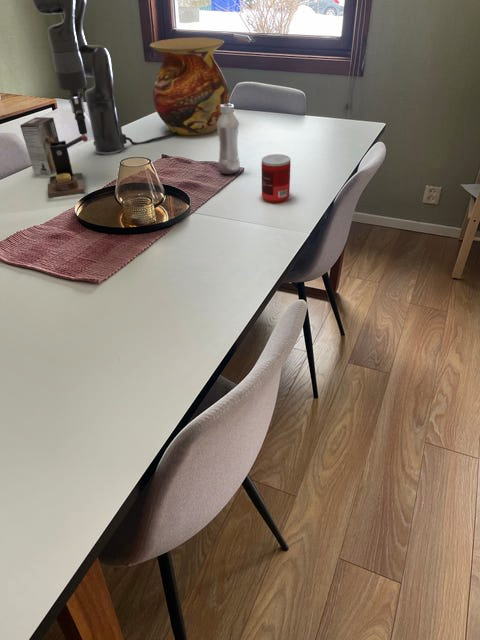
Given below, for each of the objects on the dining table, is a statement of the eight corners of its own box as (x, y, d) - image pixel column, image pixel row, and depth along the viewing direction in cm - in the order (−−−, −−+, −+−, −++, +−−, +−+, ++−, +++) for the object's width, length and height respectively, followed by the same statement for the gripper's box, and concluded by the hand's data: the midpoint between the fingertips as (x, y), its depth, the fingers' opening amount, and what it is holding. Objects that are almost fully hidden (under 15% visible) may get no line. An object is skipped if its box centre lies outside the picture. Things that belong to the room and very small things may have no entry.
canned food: (292, 193, 141) (293, 155, 135) (285, 205, 135) (286, 164, 129) (266, 191, 143) (266, 152, 137) (258, 202, 137) (257, 162, 131)
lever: (88, 136, 150) (84, 129, 149) (89, 141, 146) (85, 134, 145) (57, 153, 150) (52, 146, 149) (57, 158, 146) (52, 151, 145)
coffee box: (48, 167, 165) (35, 116, 156) (66, 168, 164) (54, 117, 155) (34, 177, 158) (19, 124, 149) (52, 178, 157) (38, 125, 148)
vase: (189, 115, 214) (183, 35, 196) (244, 124, 200) (242, 39, 182) (142, 132, 195) (129, 45, 177) (198, 144, 181) (191, 51, 163)
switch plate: (84, 186, 151) (81, 173, 148) (85, 196, 144) (82, 182, 142) (49, 190, 148) (46, 177, 146) (49, 200, 142) (45, 187, 140)
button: (71, 178, 146) (70, 172, 145) (71, 183, 143) (70, 177, 142) (57, 180, 145) (55, 174, 144) (57, 184, 142) (55, 178, 141)
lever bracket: (82, 176, 158) (74, 138, 151) (83, 185, 151) (74, 145, 144) (51, 180, 156) (41, 141, 149) (50, 189, 149) (40, 149, 142)
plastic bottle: (218, 169, 159) (214, 103, 147) (239, 168, 159) (237, 102, 147) (219, 177, 154) (215, 108, 142) (241, 175, 154) (239, 107, 142)
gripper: (84, 72, 132) (97, 134, 142) (82, 63, 143) (94, 121, 153) (55, 75, 130) (70, 138, 140) (55, 65, 141) (68, 124, 151)
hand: (82, 129), depth 146 cm, fingers open, 8 cm apart
